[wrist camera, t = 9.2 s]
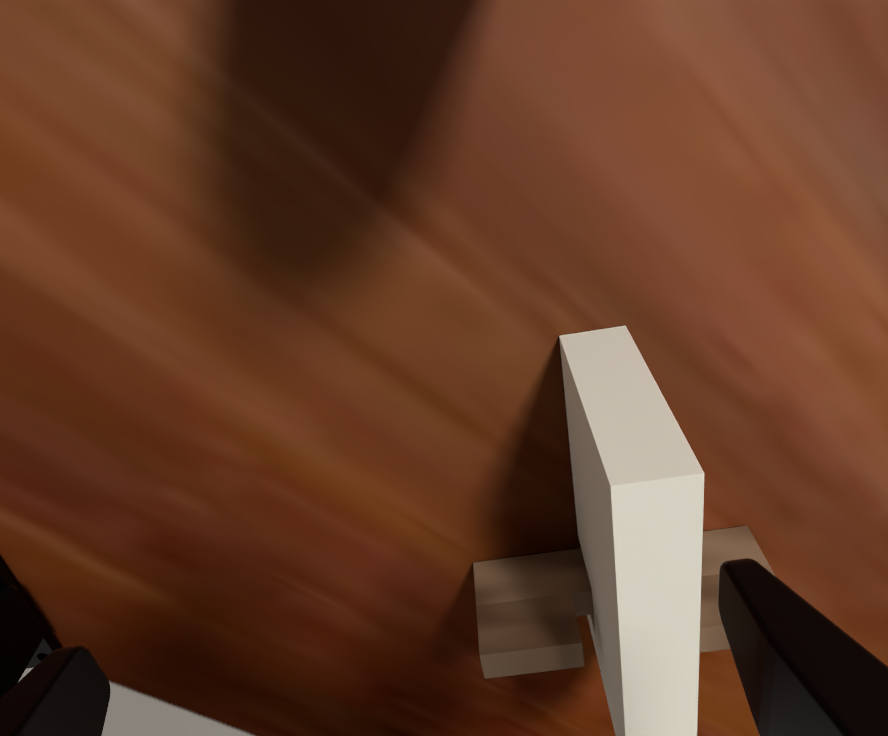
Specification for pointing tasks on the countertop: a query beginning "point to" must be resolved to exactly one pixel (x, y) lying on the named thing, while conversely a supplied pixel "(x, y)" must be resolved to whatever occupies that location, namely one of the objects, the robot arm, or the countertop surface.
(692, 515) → the cream plate
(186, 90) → the countertop surface
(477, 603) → the brown wooden flat piece
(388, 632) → the countertop surface
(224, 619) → the countertop surface
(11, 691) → the robot arm
